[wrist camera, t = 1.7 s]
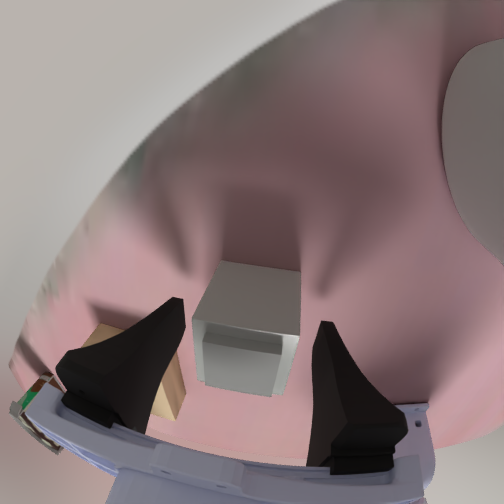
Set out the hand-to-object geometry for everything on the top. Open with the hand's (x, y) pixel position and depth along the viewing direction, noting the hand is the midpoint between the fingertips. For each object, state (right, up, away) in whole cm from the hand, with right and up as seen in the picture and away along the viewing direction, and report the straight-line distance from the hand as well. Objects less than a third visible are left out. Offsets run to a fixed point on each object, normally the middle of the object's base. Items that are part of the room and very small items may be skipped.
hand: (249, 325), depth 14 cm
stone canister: (0, +1, +2) cm, 3 cm away
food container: (-31, -18, +17) cm, 40 cm away
